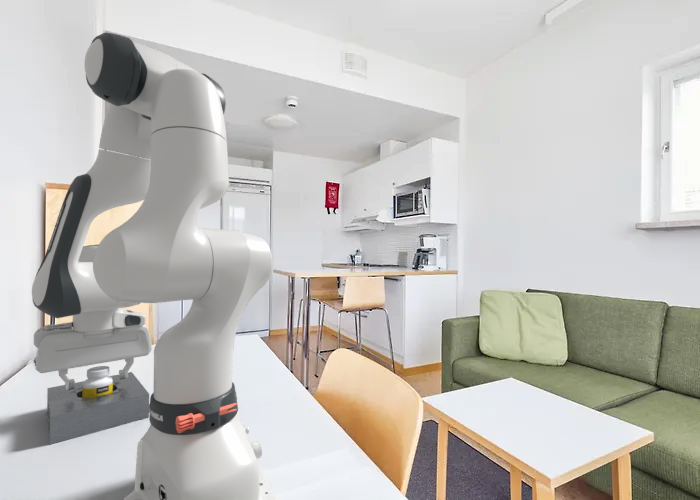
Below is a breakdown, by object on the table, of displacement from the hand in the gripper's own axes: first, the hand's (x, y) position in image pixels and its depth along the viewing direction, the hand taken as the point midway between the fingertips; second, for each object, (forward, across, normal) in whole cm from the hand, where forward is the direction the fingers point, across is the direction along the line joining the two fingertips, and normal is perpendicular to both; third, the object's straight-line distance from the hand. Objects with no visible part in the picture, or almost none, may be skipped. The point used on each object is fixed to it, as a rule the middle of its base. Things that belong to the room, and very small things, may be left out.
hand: (97, 383), depth 76 cm
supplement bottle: (+7, 0, 0) cm, 7 cm away
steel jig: (+7, 0, 0) cm, 7 cm away
